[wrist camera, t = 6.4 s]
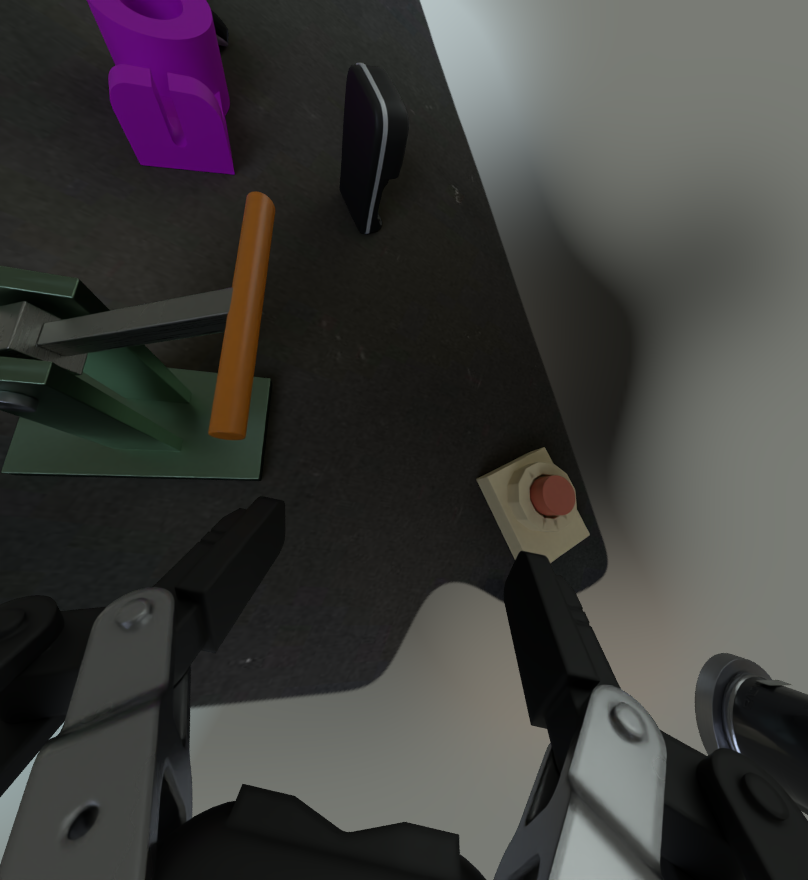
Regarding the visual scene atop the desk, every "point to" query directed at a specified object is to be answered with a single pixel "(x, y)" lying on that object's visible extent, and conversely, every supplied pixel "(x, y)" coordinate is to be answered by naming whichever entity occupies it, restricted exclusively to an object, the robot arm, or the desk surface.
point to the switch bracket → (116, 406)
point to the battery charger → (370, 142)
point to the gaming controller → (220, 30)
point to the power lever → (168, 325)
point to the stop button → (552, 495)
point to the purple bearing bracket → (167, 82)
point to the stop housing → (530, 508)
